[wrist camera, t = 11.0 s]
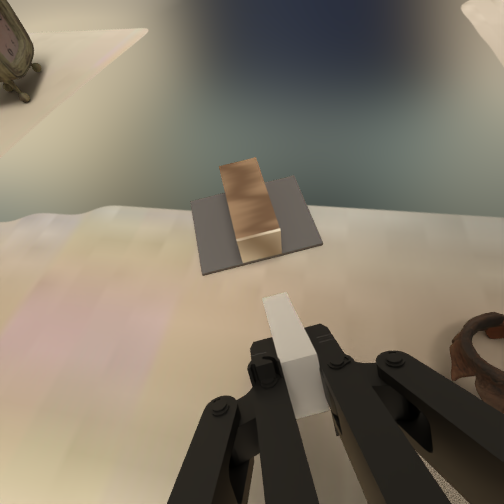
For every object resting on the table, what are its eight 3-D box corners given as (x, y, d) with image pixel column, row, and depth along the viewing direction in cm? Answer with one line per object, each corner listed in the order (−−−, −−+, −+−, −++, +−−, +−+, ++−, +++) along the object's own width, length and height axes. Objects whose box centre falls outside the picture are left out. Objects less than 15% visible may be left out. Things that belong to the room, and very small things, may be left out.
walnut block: (281, 253, 34) (259, 183, 39) (280, 230, 30) (255, 157, 36) (242, 263, 34) (225, 192, 39) (236, 241, 30) (218, 166, 35)
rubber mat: (293, 177, 40) (293, 175, 39) (322, 244, 34) (322, 243, 34) (191, 203, 39) (190, 201, 39) (202, 275, 34) (202, 274, 33)
